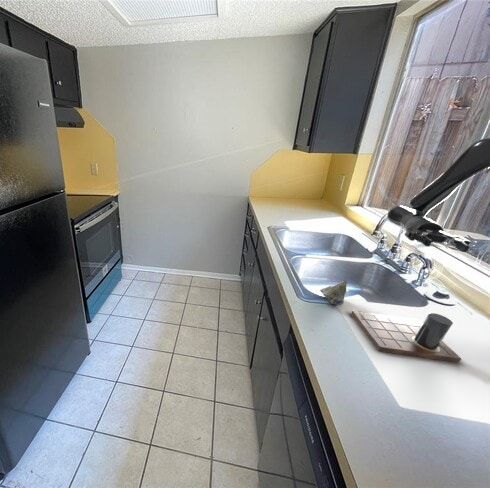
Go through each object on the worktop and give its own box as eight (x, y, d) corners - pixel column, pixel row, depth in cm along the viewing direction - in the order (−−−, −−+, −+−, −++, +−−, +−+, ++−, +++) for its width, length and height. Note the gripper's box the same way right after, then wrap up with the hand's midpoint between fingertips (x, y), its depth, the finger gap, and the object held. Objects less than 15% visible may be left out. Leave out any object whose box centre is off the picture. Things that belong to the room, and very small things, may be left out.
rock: (319, 286, 100) (346, 276, 93) (328, 299, 99) (356, 290, 93) (314, 300, 91) (344, 290, 85) (325, 314, 91) (355, 305, 84)
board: (416, 323, 84) (419, 319, 84) (458, 362, 70) (461, 358, 69) (350, 314, 87) (352, 310, 86) (378, 350, 73) (380, 346, 72)
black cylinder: (428, 338, 75) (443, 314, 72) (441, 351, 71) (457, 326, 67) (410, 336, 76) (424, 311, 72) (421, 348, 72) (437, 323, 68)
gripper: (402, 216, 92) (423, 230, 78) (454, 222, 87) (486, 239, 73) (393, 235, 95) (412, 252, 81) (443, 242, 90) (472, 262, 76)
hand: (447, 246), depth 77 cm, fingers open, 8 cm apart
